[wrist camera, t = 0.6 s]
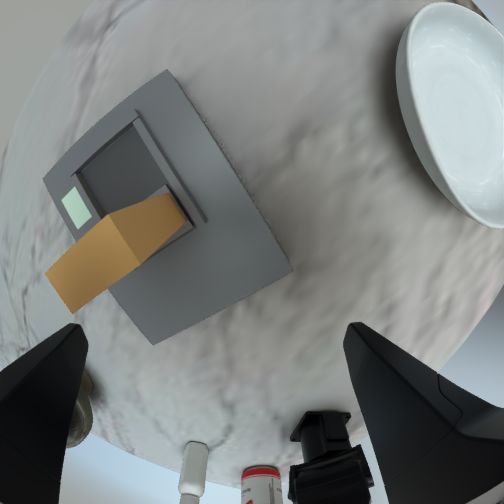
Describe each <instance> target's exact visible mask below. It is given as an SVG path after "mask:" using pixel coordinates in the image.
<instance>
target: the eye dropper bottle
mask: <svg viewBox="0 0 504 504" xmlns="http://www.w3.org/2000/svg"><path fill="white" fill-rule="evenodd" d="M207 460H208V448H207V447H206V445H205V444H202V443H196V442H189V443H188V444H187V445H186V447H185V451H184V457H183V462H182V468H181V474H180V480H179V486H178V489H179V492H180V494H181V498H180V504H199V498H200V497H201V496H202V495H203V493H204V488H205V479H206V469H207Z"/></svg>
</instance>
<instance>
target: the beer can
mask: <svg viewBox="0 0 504 504" xmlns="http://www.w3.org/2000/svg"><path fill="white" fill-rule="evenodd" d="M241 500H242V502H241V504H283V499H282V489H281V479H280V473H279V472H278V471H277V470H275V469H274V468H272V467H268V466H256V467H251V468H249V469H247V470H246V471H245V472H244V473H243V474H242V479H241Z"/></svg>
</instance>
